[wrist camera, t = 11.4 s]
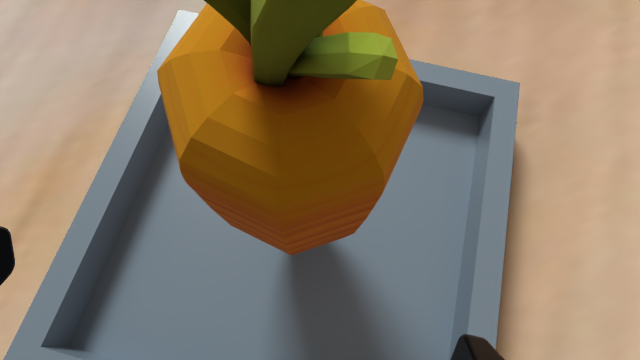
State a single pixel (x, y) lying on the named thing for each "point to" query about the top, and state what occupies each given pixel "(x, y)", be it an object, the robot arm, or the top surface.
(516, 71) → the top surface
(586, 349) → the top surface
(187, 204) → the tray
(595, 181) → the top surface
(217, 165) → the carrot
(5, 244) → the robot arm
